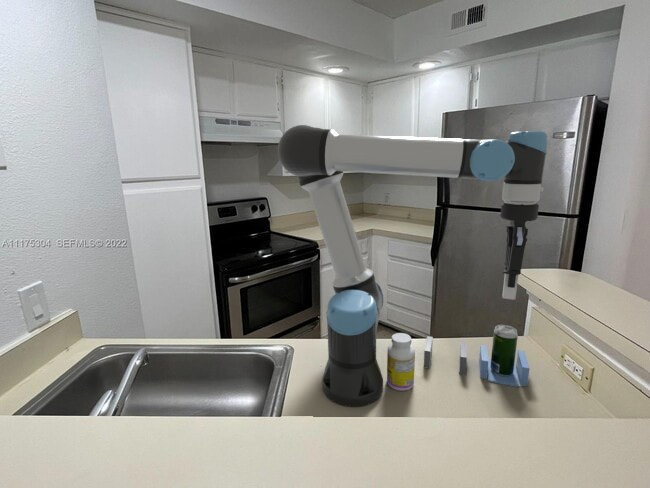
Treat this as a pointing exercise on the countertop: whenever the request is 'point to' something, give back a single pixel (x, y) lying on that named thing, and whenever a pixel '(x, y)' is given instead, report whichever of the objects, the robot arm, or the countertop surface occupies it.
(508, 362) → the beer can
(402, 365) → the supplement bottle
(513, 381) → the blue bezel pad
